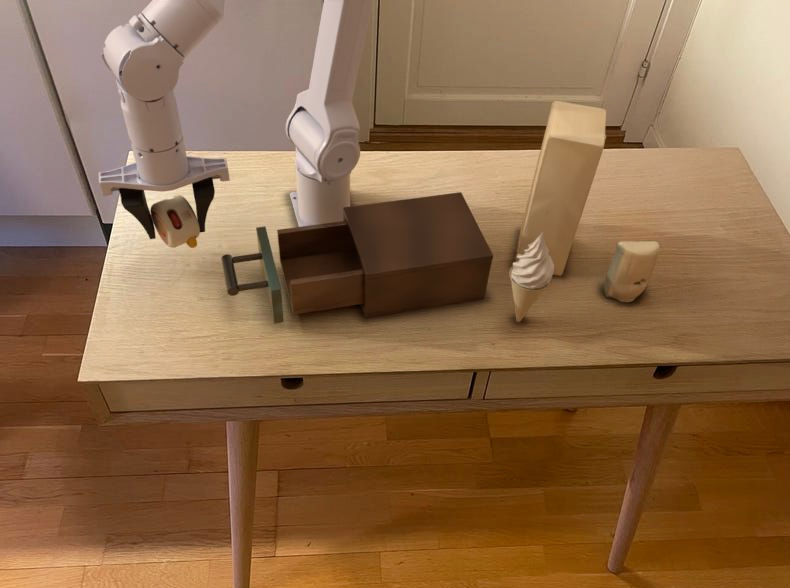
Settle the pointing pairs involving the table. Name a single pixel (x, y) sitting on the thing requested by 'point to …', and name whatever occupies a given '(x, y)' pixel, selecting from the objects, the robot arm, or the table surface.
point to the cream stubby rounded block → (630, 269)
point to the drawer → (305, 269)
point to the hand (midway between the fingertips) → (177, 230)
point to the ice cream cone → (530, 276)
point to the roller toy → (175, 222)
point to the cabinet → (419, 253)
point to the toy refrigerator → (563, 178)
